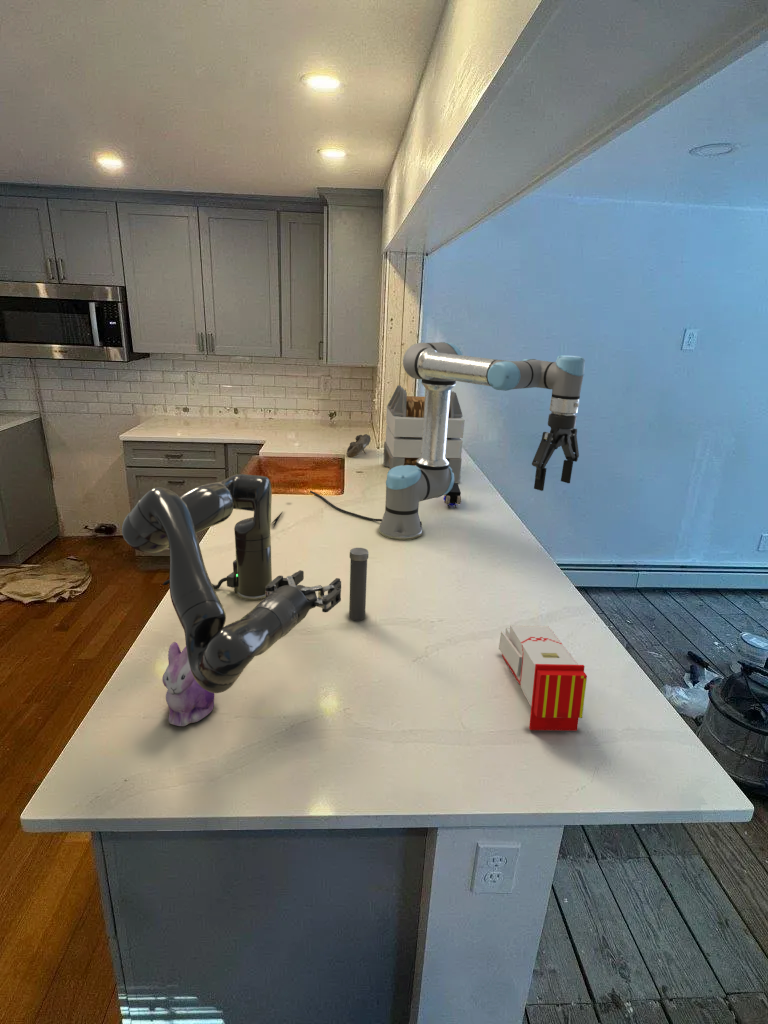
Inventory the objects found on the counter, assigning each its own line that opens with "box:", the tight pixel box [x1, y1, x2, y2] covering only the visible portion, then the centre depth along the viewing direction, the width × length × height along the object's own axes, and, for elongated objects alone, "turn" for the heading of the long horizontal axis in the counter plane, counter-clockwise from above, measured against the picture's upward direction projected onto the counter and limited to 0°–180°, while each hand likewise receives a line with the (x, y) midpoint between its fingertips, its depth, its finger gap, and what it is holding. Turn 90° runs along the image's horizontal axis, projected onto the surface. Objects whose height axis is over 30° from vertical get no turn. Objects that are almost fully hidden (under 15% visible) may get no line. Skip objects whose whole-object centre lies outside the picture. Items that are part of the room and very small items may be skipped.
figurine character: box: [442, 483, 462, 509], centre depth 232 cm, size 7×8×15 cm
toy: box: [498, 624, 588, 732], centre depth 119 cm, size 12×13×30 cm
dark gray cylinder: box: [348, 559, 368, 622], centre depth 142 cm, size 4×4×18 cm
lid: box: [349, 547, 369, 561], centre depth 139 cm, size 5×5×2 cm
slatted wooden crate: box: [383, 384, 465, 484], centre depth 268 cm, size 34×33×41 cm
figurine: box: [161, 641, 215, 727], centre depth 107 cm, size 9×10×15 cm
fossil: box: [346, 433, 372, 458], centre depth 305 cm, size 22×10×15 cm
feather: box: [271, 512, 283, 529], centre depth 212 cm, size 2×28×2 cm
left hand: (320, 578), depth 118 cm, fingers open, 8 cm apart
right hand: (552, 485), depth 166 cm, fingers open, 13 cm apart
